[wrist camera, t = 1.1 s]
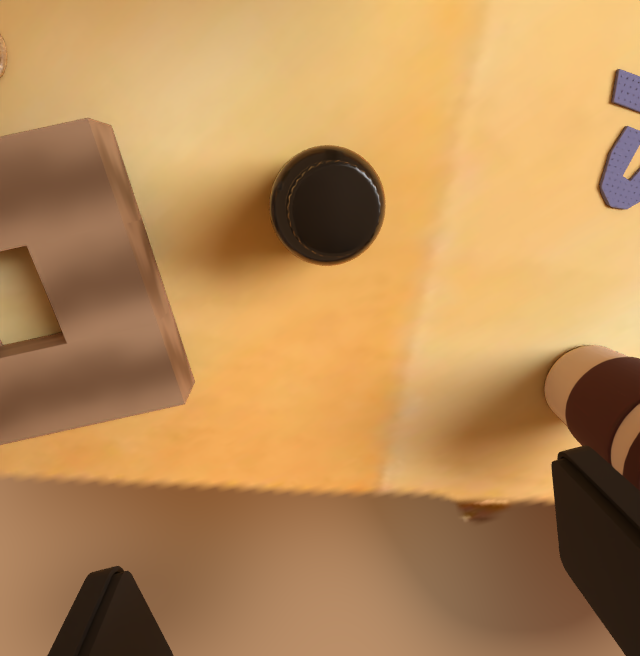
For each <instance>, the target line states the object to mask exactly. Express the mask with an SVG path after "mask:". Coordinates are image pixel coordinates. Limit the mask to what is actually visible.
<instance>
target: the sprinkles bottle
mask: <svg viewBox="0 0 640 656" xmlns="http://www.w3.org/2000/svg"><path fill="white" fill-rule="evenodd" d="M6 64H7V51H6V46H5V42H4V40H3V38H2V37H1V35H0V77H1V76H2V75H3V74H4V70H5V68H6Z"/></svg>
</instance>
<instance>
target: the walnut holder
mask: <svg viewBox="0 0 640 656" xmlns="http://www.w3.org/2000/svg"><path fill="white" fill-rule="evenodd" d="M22 246H27V248H28V250H29V253H30V255H31V258H32V260H33V263H34V265H35V267H36V270H37V272H38V275H39V277H40V279H41V282H42V284H43V287H44V289H45V291H46V294H47V296H48V299H49V301H50V303H51V306H52V308H53V311H54V313H55V316H56V318H57V320H58V323H59V325H60V328H61V330H62V333H57V334H52V335H48V336H43V337H39V338H34V339H30V340H25V341H21V342H16V343H11V344H7V345H3V344H2V342H1V340H0V445H2V444H7V443H11V442H16V441H20V440H25V439H29V438H34V437H39V436H43V435H48V434H52V433H57V432H61V431H66V430H70V429H75V428H79V427H84V426H88V425H93V424H97V423H102V422H106V421H111V420H115V419H120V418H124V417H129V416H133V415H138V414H143V413H147V412H152V411H156V410H161V409H165V408H170V407H174V406H179V405H183V404H185V403H186V400H187V398H188V396H189V394H190V392H191V389H192V387H193V385H194V383H195V380H194V377H193V374H192V371H191V368H190V365H189V362H188V359H187V356H186V353H185V350H184V347H183V344H182V341H181V338H180V334H179V331H178V328H177V325H176V322H175V319H174V316H173V313H172V310H171V307H170V304H169V301H168V298H167V295H166V292H165V288H164V285H163V282H162V279H161V276H160V273H159V270H158V267H157V264H156V261H155V258H154V255H153V252H152V249H151V246H150V243H149V239H148V236H147V233H146V230H145V227H144V224H143V221H142V218H141V215H140V212H139V209H138V206H137V203H136V200H135V197H134V193H133V190H132V187H131V184H130V181H129V178H128V175H127V172H126V169H125V166H124V163H123V160H122V157H121V154H120V151H119V147H118V144H117V141H116V138H115V135H114V132H113V129H112V126H111V125H108V124H105V123H102V122H99V121H96V120H93V119H89V118H85V119H80V120H75V121H71V122H66V123H62V124H57V125H52V126H48V127H43V128H38V129H34V130H29V131H25V132H20V133H15V134H11V135H6V136H2V137H0V251H4V250H9V249H13V248H18V247H22Z"/></svg>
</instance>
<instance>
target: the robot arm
mask: <svg viewBox="0 0 640 656" xmlns="http://www.w3.org/2000/svg"><path fill="white" fill-rule="evenodd" d="M552 477H553V488H554V498H555V509H556V519H557V531H558V541H559V552H560V558H561V561H562V563H563V566H564V568H565V570H566V571H567V573H568V575H569V576H570V577H571V579H572V580H573V582H574V583H575V584H576V586H577V587H578V589H579V590H580V591H581V593H582V594H583V596H584V597H585V599H586V600H587V601H588V603H589V604H590V606H591V607H592V609H593V610H594V611H595V613H596V614H597V616H598V617H599V618H600V620H601V621H602V623H603V624H604V625H605V627H606V628H607V630H608V631H609V632H610V634H611V635H612V637H613V638H614V640H615V641H616V642H617V644H618V645H619V647H620V648H621V649H622V651H623V652H624V654H625V655H626V656H640V491H639V490H638V489H637V488H636V487H635V486H634V485H633V484H632V483H630V482H629V481H628V480H627V479H626V478H625V477H624V476H623V475H621V474H620V473H619V472H618V471H617V470H616V469H615V468H614V467H612V466H611V465H610V464H609V463H608V462H607V461H606V460H605V459H603V458H602V457H601V456H600V455H599V454H598V453H597V452H596V451H594V450H593V449H592V448H591V447H589V446H586V445H585V446H581V447H577V448H573V449H569V450H565V451H562V452H559V454H558V460H556V461H553V462H552ZM48 656H173V654H172V651H171V650H170V647H169V645H168V644H167V642H166V640H165V638H164V636H163V634H162V632H161V630H160V628H159V626H158V624H157V622H156V620H155V618H154V617H153V615H152V613H151V611H150V609H149V607H148V605H147V603H146V601H145V599H144V597H143V595H142V594H141V591H140V590H139V588H138V586H137V584H136V582H135V580H134V578H133V576H132V574H131V573H130V572H129V571H124V570H123V569H122V568H121V567H119V566H116V567H111V568H108V569H104V570H100V571H96V572H92V573H90V574H89V575H88V576H87V578H86V579H85V581H84V583H83V585H82V587H81V589H80V591H79V593H78V595H77V597H76V600H75V601H74V603H73V605H72V607H71V609H70V611H69V613H68V615H67V617H66V619H65V621H64V624H63V626H62V627H61V629H60V632H59V634H58V636H57V638H56V640H55V642H54V644H53V646H52V648H51V650H50V652H49V654H48Z"/></svg>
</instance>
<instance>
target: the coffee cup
mask: <svg viewBox="0 0 640 656" xmlns="http://www.w3.org/2000/svg"><path fill="white" fill-rule="evenodd" d="M544 392H545V398H546V401H547V403H548V405H549V407H550V408H551V410H552V411H553V412H554V413H555V414H556V415H557V416H558V417H559V418H560V419H561V420H562V421H563V422H564V423H565V424H566V425H567V426H568V429H569V430H570V432H571V434H572V435H573V436H574V437H575V438H576V440H577V441H578V442H579V443H580V444H581V445H582V446H585V445H586V446H589V447H591V448H592V449H593V450H594V451H596V452H597V453H598V454H599V455H600V456H601V457H602V458H603V459H605V460H606V461H607V462H608V463H609V464H610V465H611V466H612V467H614V468H615V469H616V470H617V471H618V472H619V473H620V474H621V475H623V476H624V477H625V478H626V479H627V480H628V481H629V482H630V483H632V484H633V485H634V486H635V487H636V488H637V489H638V490H639V491H640V359H639V358H634V357H628V356H626V355H623V354H621V353H618V352H616V351H613V350H611V349H609V348H606V347H602V346H596V345H588V346H582V347H578V348H576V349H573V350H571V351H569V352H567V353H566V354H564V355H563V356H562V357H560V358H559V359H558V360H557V361H556V362H555V364H554V365H553V366H552V368H551V370H550V371H549V373H548V375H547V378H546V381H545V388H544Z"/></svg>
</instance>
